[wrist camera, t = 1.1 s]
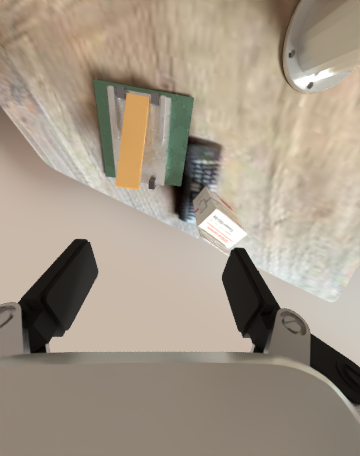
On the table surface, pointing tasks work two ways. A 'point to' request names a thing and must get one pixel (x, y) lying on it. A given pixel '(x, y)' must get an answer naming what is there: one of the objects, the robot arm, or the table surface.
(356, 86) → the table surface
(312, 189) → the table surface
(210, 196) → the ink cartridge box
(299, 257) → the table surface
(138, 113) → the orange wooden bar
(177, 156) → the board
